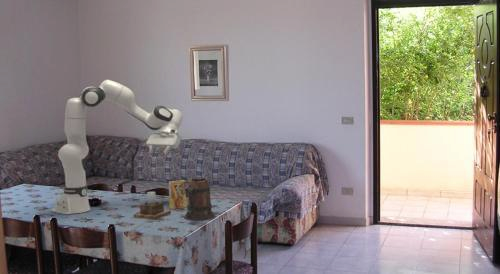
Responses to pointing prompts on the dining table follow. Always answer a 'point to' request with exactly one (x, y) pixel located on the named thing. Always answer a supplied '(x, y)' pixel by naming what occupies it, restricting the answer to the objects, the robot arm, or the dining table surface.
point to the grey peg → (151, 198)
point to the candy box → (177, 194)
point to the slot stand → (152, 211)
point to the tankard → (199, 200)
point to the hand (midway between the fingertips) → (157, 152)
